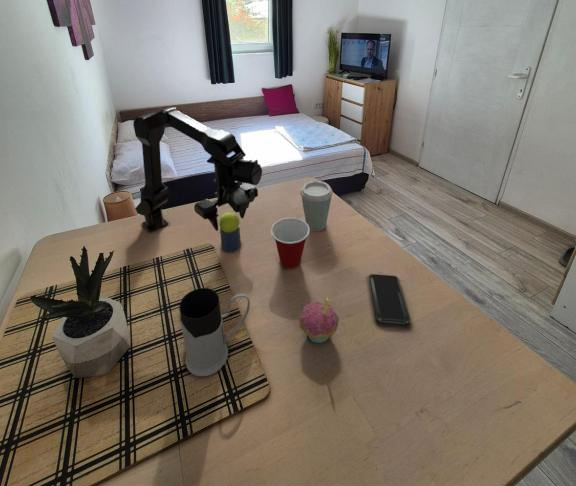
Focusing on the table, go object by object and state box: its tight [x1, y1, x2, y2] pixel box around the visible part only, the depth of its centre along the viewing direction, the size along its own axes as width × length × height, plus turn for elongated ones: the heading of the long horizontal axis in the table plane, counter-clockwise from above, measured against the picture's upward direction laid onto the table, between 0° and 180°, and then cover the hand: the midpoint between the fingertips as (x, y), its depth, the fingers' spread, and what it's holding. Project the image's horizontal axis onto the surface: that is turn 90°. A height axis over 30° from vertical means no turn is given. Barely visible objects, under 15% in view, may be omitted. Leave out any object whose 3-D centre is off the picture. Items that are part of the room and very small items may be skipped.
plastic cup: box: [270, 216, 311, 270], centre depth 92 cm, size 11×11×12 cm
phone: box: [368, 273, 411, 327], centre depth 82 cm, size 8×1×15 cm
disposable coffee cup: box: [299, 180, 334, 232], centre depth 108 cm, size 11×11×15 cm
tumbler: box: [219, 225, 242, 253], centre depth 100 cm, size 6×6×7 cm
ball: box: [218, 212, 240, 233], centre depth 98 cm, size 6×6×6 cm
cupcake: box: [298, 296, 340, 344], centre depth 71 cm, size 9×8×12 cm
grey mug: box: [178, 287, 251, 377], centre depth 66 cm, size 9×14×15 cm, turn 113°
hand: (229, 223), depth 98 cm, fingers open, 9 cm apart
